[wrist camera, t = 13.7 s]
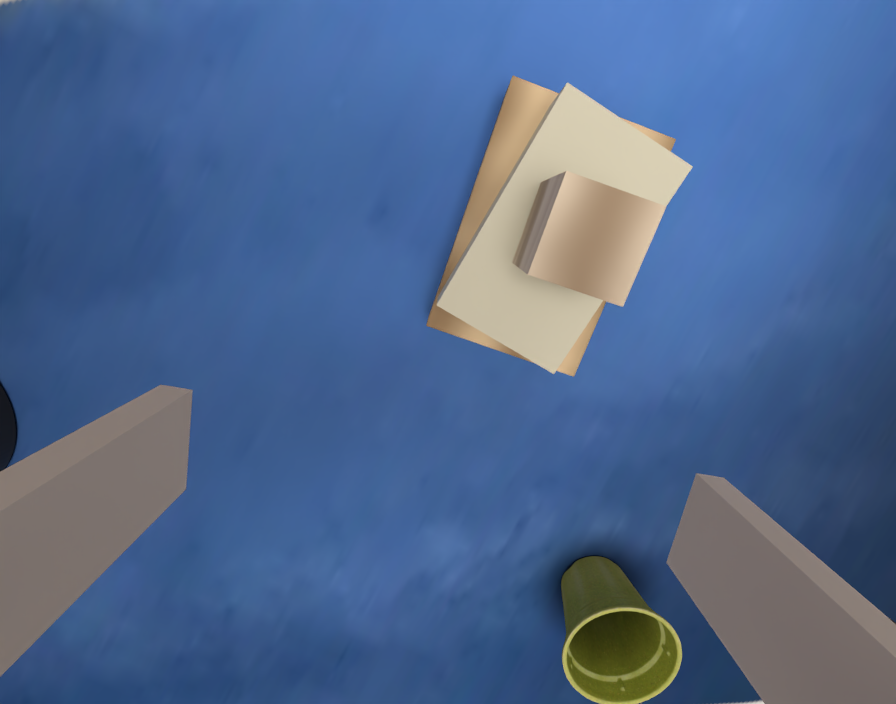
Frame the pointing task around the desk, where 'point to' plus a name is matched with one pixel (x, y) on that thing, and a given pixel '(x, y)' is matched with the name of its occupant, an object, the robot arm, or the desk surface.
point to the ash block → (587, 236)
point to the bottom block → (501, 155)
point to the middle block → (496, 240)
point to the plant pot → (614, 636)
